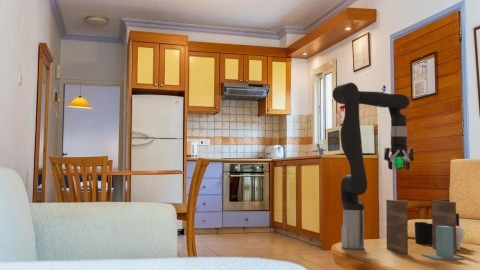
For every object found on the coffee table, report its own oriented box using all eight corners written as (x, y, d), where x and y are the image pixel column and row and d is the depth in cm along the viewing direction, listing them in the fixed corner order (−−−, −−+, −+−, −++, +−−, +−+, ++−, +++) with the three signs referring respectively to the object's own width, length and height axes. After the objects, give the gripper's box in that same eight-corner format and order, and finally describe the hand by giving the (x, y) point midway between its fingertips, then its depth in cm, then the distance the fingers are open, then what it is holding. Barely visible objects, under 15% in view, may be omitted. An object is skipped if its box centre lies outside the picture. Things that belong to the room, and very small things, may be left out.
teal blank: (443, 257, 204) (442, 227, 205) (436, 255, 209) (435, 225, 210) (453, 257, 205) (452, 227, 206) (445, 255, 210) (445, 225, 211)
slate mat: (436, 260, 200) (436, 258, 200) (421, 255, 211) (421, 254, 211) (463, 259, 203) (463, 258, 203) (447, 255, 213) (447, 253, 213)
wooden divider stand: (404, 254, 214) (404, 201, 216) (386, 248, 230) (386, 199, 232) (456, 253, 219) (455, 202, 221) (435, 248, 235) (434, 200, 237)
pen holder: (415, 243, 249) (415, 223, 250) (413, 241, 258) (413, 221, 259) (436, 244, 247) (435, 224, 248) (433, 242, 256) (433, 222, 257)
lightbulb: (464, 250, 230) (463, 225, 231) (465, 252, 224) (465, 226, 225) (449, 249, 232) (448, 224, 233) (450, 251, 226) (449, 226, 227)
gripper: (388, 135, 240) (389, 169, 239) (416, 136, 243) (416, 170, 242) (381, 136, 248) (381, 169, 246) (408, 137, 250) (408, 170, 249)
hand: (399, 169), depth 244 cm, fingers open, 8 cm apart
